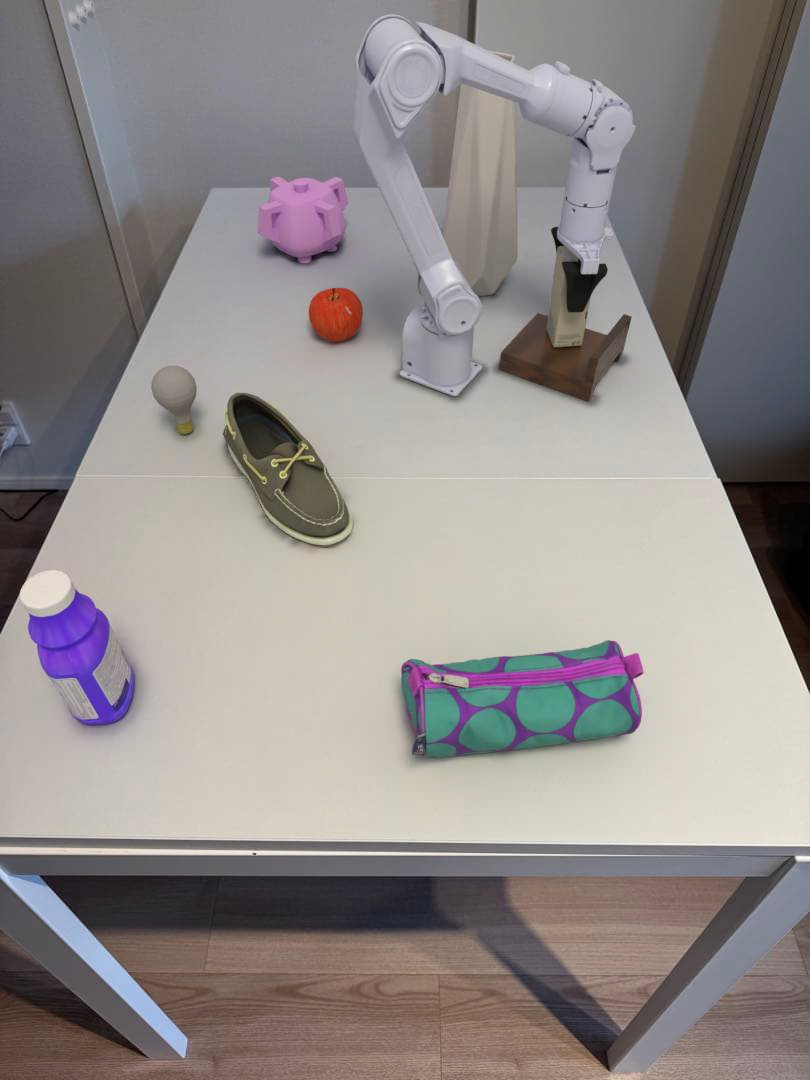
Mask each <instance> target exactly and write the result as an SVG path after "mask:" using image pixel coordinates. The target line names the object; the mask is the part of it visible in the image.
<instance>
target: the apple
mask: <svg viewBox="0 0 810 1080" xmlns="http://www.w3.org/2000/svg"><path fill="white" fill-rule="evenodd" d="M363 316H364V308H363V304H362V301H361V300H360V297H359V296H358V295H357V294H356V293H355V292H354V291H353V290H351V289H349V288H345V287H330V288H327V289H324V290H321V291H319V292H318V293H316V294H315V295H314V296H313V297H312V298H311V300H310V303H309V306H308V319H309V322H310V326H311V327H312V329H313V330H314V331H315V333H316V334H317V335H318V336H319V337H320V338H322V339H325V340H327V341H329V342H332V343H340V342H343V341H345V340H348V339H350V338H352V337H353V336H354V335H356V334H357V333H358V331H359V330H360V328H361V326H362V322H363Z"/></svg>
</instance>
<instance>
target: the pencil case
mask: <svg viewBox="0 0 810 1080" xmlns="http://www.w3.org/2000/svg"><path fill="white" fill-rule="evenodd" d="M400 672H401V677H400V679H401V690H402V694H403V700H404V702H405V708H406V712H407V716H408V719H409V721H410V725H411V726H412V729H413V730H414V732H415V735H416V738H415V739H414V741H413V744H412V749H411V750H412V751H411V755H412V756H421V755H423V756H424V757H425V758H427V757H434V758H446V757H455V756H463V755H464V756H465V755H473V754H484V753H493V752H499V751H508V750H520V749H529V748H530V749H531V748H532V749H533V748H539V747H544V746H553V745H560V744H567V743H575V742H579V741H587V740H596V739H597V740H598V739H602V738H606V737H620V736H625V735H626V736H627V735H631V734H633V733H635V732H636V731H637V730H638V729H639V727H640V725H641V722H642V718H643V707H642V706H643V705H642V699H641V695H640V692H639V689H638V687H637V685H636V683H635V679H637V678H638V677H641V676H642V675H644V673H645V672H644V668H643V663H642V661H641V656H640V654H639V652H635V653H632V654H628V655H624V652H623V650H622V647H621V645H620V643H618V641H616V640H609V639H607V640H604V641H602V642H601V643H598V644H593V645H591V646H588V647H580V648H576V649H567V650H561V651H551V652H550V651H549V652H543V653H533V654H525V655H512V656H511V655H510V656H509V655H508V656H507V655H505V656H504V655H503V656H493V657H486V658H481V659H469V660H466V661H457V662H450V663H439V664H438V663H437V664H430V663H427V662H425V661H423V660H421V659H418V658H409V659H407V660H406V661H404V662H403V663H402V665H401V668H400Z"/></svg>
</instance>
